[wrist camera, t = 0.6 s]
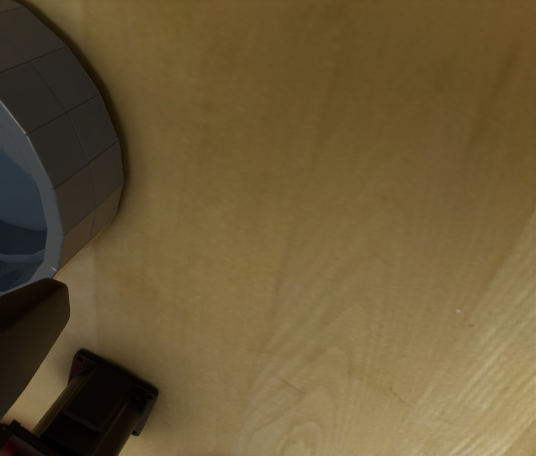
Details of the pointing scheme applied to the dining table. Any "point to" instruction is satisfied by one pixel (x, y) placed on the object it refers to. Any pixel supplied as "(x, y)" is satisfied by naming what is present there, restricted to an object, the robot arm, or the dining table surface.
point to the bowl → (50, 153)
